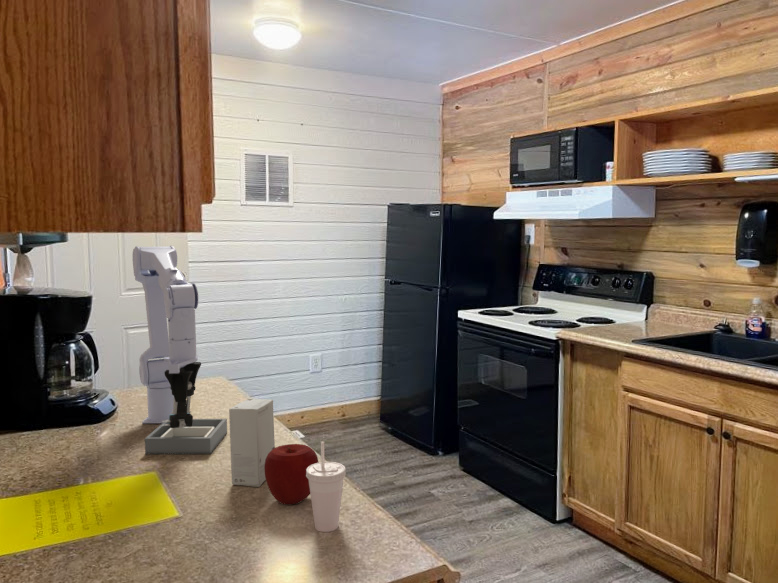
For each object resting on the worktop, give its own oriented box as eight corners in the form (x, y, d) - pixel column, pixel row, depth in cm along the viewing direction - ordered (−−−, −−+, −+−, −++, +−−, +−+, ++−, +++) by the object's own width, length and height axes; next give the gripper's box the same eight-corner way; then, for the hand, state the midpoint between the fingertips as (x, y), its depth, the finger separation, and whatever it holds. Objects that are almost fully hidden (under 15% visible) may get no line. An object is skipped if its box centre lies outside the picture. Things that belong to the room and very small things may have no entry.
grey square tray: (168, 433, 147) (167, 418, 146) (227, 433, 147) (226, 418, 146) (145, 454, 133) (144, 438, 132) (210, 454, 133) (210, 438, 133)
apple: (280, 486, 116) (279, 434, 115) (328, 492, 113) (327, 439, 112) (255, 507, 107) (253, 451, 106) (305, 515, 104) (304, 457, 103)
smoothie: (318, 514, 104) (317, 434, 103) (352, 521, 102) (352, 438, 101) (299, 531, 98) (297, 446, 97) (335, 539, 96) (334, 451, 95)
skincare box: (259, 488, 115) (257, 410, 114) (229, 485, 117) (227, 408, 115) (276, 471, 123) (275, 398, 122) (248, 468, 125) (246, 396, 123)
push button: (165, 431, 135) (168, 387, 134) (158, 423, 139) (161, 380, 138) (195, 428, 139) (199, 385, 138) (188, 421, 143) (191, 379, 142)
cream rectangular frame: (171, 435, 144) (171, 426, 144) (215, 435, 144) (215, 426, 144) (159, 447, 136) (158, 438, 135) (205, 447, 136) (205, 438, 135)
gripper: (173, 333, 144) (175, 390, 146) (153, 344, 130) (155, 407, 131) (204, 332, 145) (206, 389, 146) (187, 343, 130) (189, 406, 132)
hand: (184, 398), depth 139 cm, fingers closed on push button, 5 cm apart
